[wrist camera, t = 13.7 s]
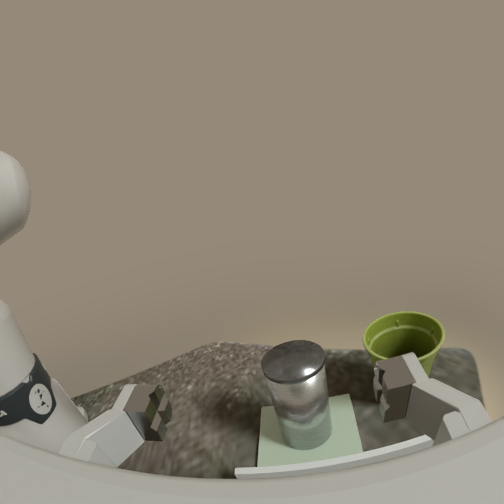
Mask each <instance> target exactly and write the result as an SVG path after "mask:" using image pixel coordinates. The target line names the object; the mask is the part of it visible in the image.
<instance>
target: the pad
mask: <svg viewBox="0 0 504 504" xmlns="http://www.w3.org/2000/svg"><path fill="white" fill-rule="evenodd" d="M329 404H330V413H331V422H332V433H331V436H330V437H329V439H328V440H327V441H326V442H325V443H324V444H322V445H321V446H319V447H317V448H314V449H310V450H297V449H294V448H291V447H290V446H288V445H287V444H286V443H285V441H284V440H283V436H282V433H281V430H280V426H279V423H278V419H277V416H276V412H275V409H274V406H267V407H262V408H261V422H260V436H259V450H258V463H257V467H266V466H278V465H288V464H297V463H305V462H312V461H319V460H325V459H331V458H337V457H342V456H347V455H352V454H357V453H362V452H363V450H362V446H361V441H360V437H359V432H358V428H357V424H356V420H355V415H354V411H353V407H352V403H351V399H350V395H349V393H348V394H344V395H339V396H333V397H329Z"/></svg>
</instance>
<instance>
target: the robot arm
mask: <svg viewBox="0 0 504 504" xmlns="http://www.w3.org/2000/svg"><path fill="white" fill-rule="evenodd" d="M30 205H31V191H30V186H29V181H28V178H27V176H26V173H25V171H24V170H23V168H22V167H21V165H20V164H19V163H18V161H17V160H16V159H14V158H13V157H12V156H10V155H9V154H7V153H5V152H2V151H0V245H1V244H3V243H4V242H6V241H7V240H8V239H10V238H11V237H13V236H14V235H15V234H17V233H18V232H19V231H21V230H22V229H23V228H24V226H25V224H26V222H27V219H28V215H29V212H30ZM374 371H375V374H376V376H375V377H374V378H373V387H374V394H375V398H376V402H378V403H380V408H379V411H380V414H381V417H382V420H383V423H385V422H389V421H394V420H398V419H402V418H405V419H406V420H407V421H409V422H410V423H411V424H412V425H414V426H415V427H416V428H418V429H419V430H420V431H422V432H423V433H424V434H426V435H427V436H428V437H430V438H431V439H432V440H434V443H433V445H432V447H429V448H426V449H423V450H420V451H416V452H413V453H410V454H406V455H403V456H399V457H396V458H392V459H388V460H384V461H380V462H376V463H371V464H367V465H362V466H357V467H352V468H347V469H341V470H335V471H329V472H323V473H315V474H307V475H299V476H288V477H275V478H256V479H210V478H190V477H177V476H167V475H158V474H150V473H143V472H136V471H130V470H124V469H119V468H117V467H118V466H119V465H120V464H121V463H122V462H123V461H124V460H125V459H127V458H128V457H129V456H130V455H131V454H132V453H133V452H134V451H135V450H136V449H137V448H138V447H139V446H140V445H141V444H142V443H143V442H144V440H147V441H163V440H164V437H165V434H166V431H167V428H166V426H165V425H166V424H167V423H168V422H170V419H171V416H172V408H171V404H170V402H169V400H168V399H167V398H165V397H164V396H163V395H164V390H163V388H162V386H160V385H144V384H127V385H125V386H124V388H123V390H122V392H121V393H120V395H119V397H118V399H117V401H116V402H115V404H114V406H113V408H112V410H107V411H106V412H104V413H103V414H101V415H100V416H98V417H97V418H95V419H94V420H92V421H90V422H88V416H87V412H86V411H85V410H84V409H83V408H82V407H76V405H75V404H74V403H73V402H72V400H71V399H70V398H69V396H68V395H67V394H66V393H65V391H64V390H63V389H62V387H61V386H60V385H59V383H58V382H57V381H56V380H55V379H51V378H50V376H49V375H48V373H47V371H46V369H45V367H44V365H43V363H42V362H41V361H40V360H39V358H38V357H37V355H36V354H34V353H32V351H31V350H30V348H29V346H28V344H27V342H26V340H25V338H24V336H23V334H22V332H21V330H20V328H19V326H18V324H17V322H16V320H15V317H14V315H13V313H12V311H11V309H10V307H9V306H8V305H7V303H6V302H5V301H3V300H2V299H1V298H0V504H504V417H502V418H500V419H498V420H496V421H494V422H492V421H491V419H490V417H489V415H488V414H487V412H486V410H485V408H484V407H483V405H482V404H481V402H480V400H477V399H475V398H473V397H471V396H469V395H467V394H465V393H462V392H460V391H458V390H456V389H454V388H452V387H450V386H448V385H446V384H444V383H442V382H439V381H437V380H435V379H433V378H432V379H429V378H428V376H427V374H426V373H425V371H424V369H423V367H422V365H421V364H420V362H419V360H418V359H417V357H416V355H415V353H413V352H411V353H408V354H404V355H400V356H397V357H393V358H389V359H384V360H380V361H376V362H375V364H374Z"/></svg>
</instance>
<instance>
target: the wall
mask: <svg viewBox="0 0 504 504" xmlns="http://www.w3.org/2000/svg"><path fill="white" fill-rule="evenodd" d="M433 443H434V440H432V439H431V438H430V437H428V436H427V435H423V436H420V437H417V438H414V439H411V440H408V441H404V442H401V443H397V444H394V445H390V446H386V447H383V448H379V449H375V450H370V451H366V452H362V453H357V454H352V455H347V456H342V457H337V458H331V459H325V460H319V461H312V462H305V463H297V464H288V465H278V466H266V467H249V468H235V476H236V478H237V479H256V478H275V477H288V476H299V475H307V474H315V473H323V472H329V471H335V470H341V469H347V468H352V467H357V466H362V465H367V464H371V463H376V462H380V461H384V460H388V459H392V458H396V457H399V456H403V455H406V454H410V453H413V452H416V451H420V450H423V449H426V448H429V447H432V445H433Z"/></svg>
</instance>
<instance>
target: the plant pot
mask: <svg viewBox="0 0 504 504" xmlns="http://www.w3.org/2000/svg"><path fill="white" fill-rule="evenodd" d="M444 337H445V332H444V328H443V326H442V325H441V323H440V322H439V321H438V320H436V319H435V318H434V317H432V316H429V315H427V314H424V313H420V312H411V311H405V312H396V313H392V314H387V315H384V316H382V317H380V318H378V319H376V320H374V321H373V322H372V323H371V324H370V325H368V326H367V328H366V329H365V331H364V333H363V337H362V338H363V345H364V347H365V349H366V351H367V352H368V353H369V355H370V357H371V359H372V364H373V369H374V364H375V362H376V361H380V360H384V359H389V358H393V357H397V356H400V355H404V354H408V353H411V352H413V353H415V355H416V357H417V359H418V360H419V362H420V364H421V365H422V367H423V369H424V371H425V373H426V374H427V376H429V373H430V370H431V366H432V363H433V360H434V357H435V356H436V354H437V352H438V350H439V349H440V348H441V346H442V344H443V342H444ZM374 374H375V371H374ZM375 376H376V374H375Z"/></svg>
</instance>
